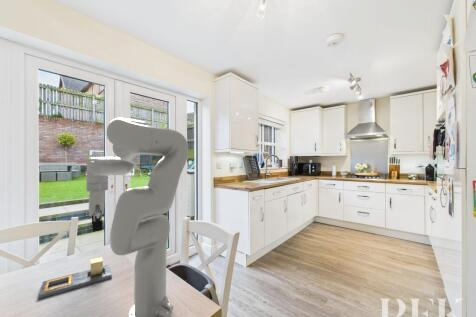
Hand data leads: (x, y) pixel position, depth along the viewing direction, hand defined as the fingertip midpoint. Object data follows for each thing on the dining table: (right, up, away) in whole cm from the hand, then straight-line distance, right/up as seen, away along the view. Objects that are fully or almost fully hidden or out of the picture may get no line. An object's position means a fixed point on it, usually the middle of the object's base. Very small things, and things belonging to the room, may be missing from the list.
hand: (96, 227), depth 86 cm
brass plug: (0, -21, 0) cm, 21 cm away
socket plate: (-5, -21, -4) cm, 22 cm away
